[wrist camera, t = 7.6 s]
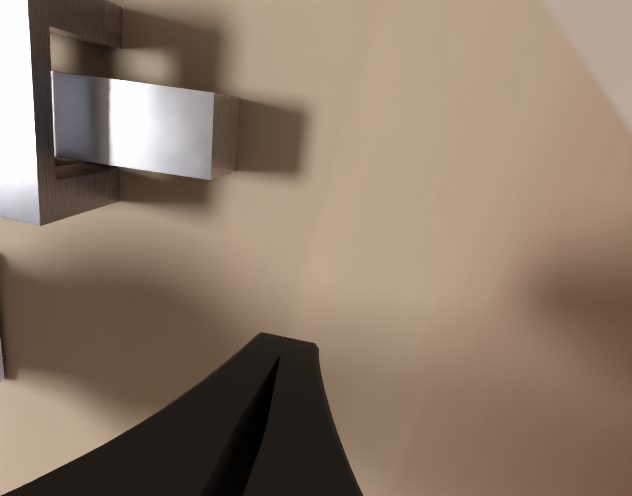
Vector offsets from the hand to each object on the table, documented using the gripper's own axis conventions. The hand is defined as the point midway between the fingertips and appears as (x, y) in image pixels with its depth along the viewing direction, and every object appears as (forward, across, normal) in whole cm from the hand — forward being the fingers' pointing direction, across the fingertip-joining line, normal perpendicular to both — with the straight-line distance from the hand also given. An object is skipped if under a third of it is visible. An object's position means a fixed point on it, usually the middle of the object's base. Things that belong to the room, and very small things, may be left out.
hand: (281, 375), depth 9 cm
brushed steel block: (+9, +10, -4) cm, 15 cm away
